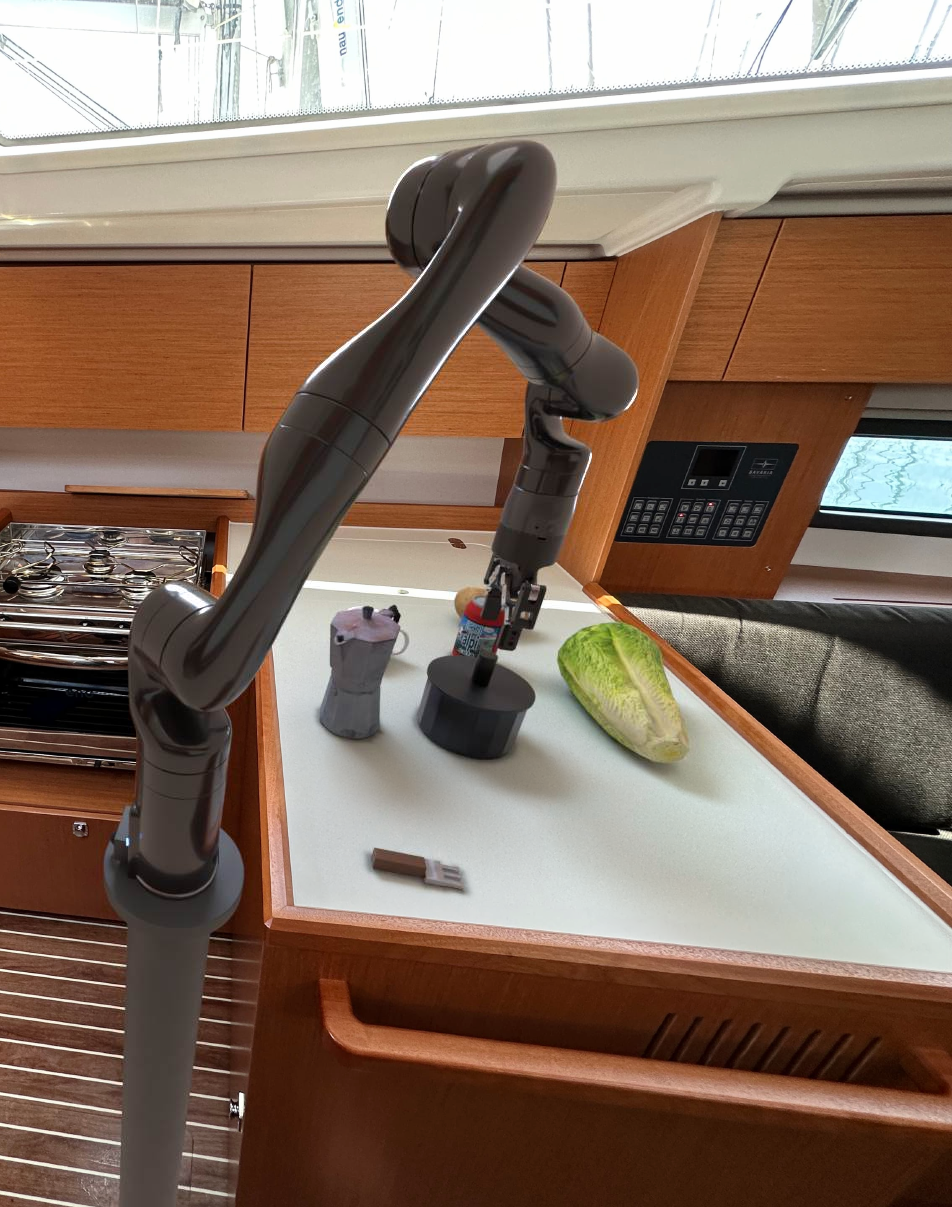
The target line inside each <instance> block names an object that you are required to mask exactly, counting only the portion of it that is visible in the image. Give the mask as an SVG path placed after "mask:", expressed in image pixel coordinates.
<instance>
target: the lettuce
mask: <svg viewBox="0 0 952 1207" xmlns="http://www.w3.org/2000/svg"><path fill="white" fill-rule="evenodd" d="M556 661H557V665H558V669H559V673H560V676H561V677H562V679H563V680H564V681H565V684H566V685H567V686H568V688H569V690H570V691H571V693H572V694H573V696H575V698H576V699H577V700H578V701H579V702H580V704H581V705H582V706H583V708H584V709H585V710H586V712H588V714H589V715H590V716H591V717H592V718H593V720H595V721H596V722H597V723H598V724H599V725H600V726H601V728H603V730H605V732H606V733H607V734H608V735H609V736H611V737H612V738H613V739H615V740H616V741H617V742H619V743H620V744H622V745H623V746H625V747H626V748H627V749H629V750H631V751H632V752H634V753H636V754H637V755H639V756H641V757H643V758H645V759H647V760H650V761H652V762H653V763H654V762H655V763H664V764H670V763H675V762H677V761H680V760H683V759H685V756H686V755H687V753H688V752H689V750H690V745H691V740H690V735H689V732H688V728H687V725H686V721H685V719H684V716H683V713H682V711H681V709H680V706H679V704H678V702H677V700H676V699H675V697H674V693H673V691H672V688H671V684H670V682H669V679H668V677H667V674H666V671H665V667H664V656H663V653H662V651H661V649H660V647H659V645H658V643H656V642H655V641H654V640H653V639H652V638H651V637H650V636H648V634H646V633H644V632H643V631H642V630H640V629H639V628H637V626H636V627H635V626H633V625H631V624H628V623H626V622H624V621H613V622H612V621H611V622H601V623H596V624H594V625H593V624H592V625H590V626H585V627H582V628H581V629H579V630H578V631H576V632H574V634H572V635H570V636H569V637H568V638H567V639H566V640H565V641H564V642H563V644H562V645H561V646H560V648H559V649H558V651H557V658H556Z"/></svg>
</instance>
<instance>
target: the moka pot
mask: <svg viewBox="0 0 952 1207" xmlns="http://www.w3.org/2000/svg"><path fill="white" fill-rule="evenodd" d="M361 607H362V609H354V610H348V609H347V610H348V611H347V610H342V611H337V612H336V614H335V615H334V617H333V619H332V620H331V621H330V624H329V635H330V636H329V667H330V668H331V669H330V676H329V679H328V683H327V684H326V685H327V686H326V688H325V692H324V694H323V698H322V701H321V704H320V708H319V721H320V722H321V724H322V725H323V726H324V727H325V729H327V730H328V731H329V732H331V733H333V734H335V735H338V736H340V737H344V738H348V739H364V738H369V737H371V736H372V735H374V734H375V733H376V732H378V730H379V729H380V724H381V722H380V721H381V719H380V718H381V685H382V682H383V678H384V675H385V672H386V670H387V667H388V664H389V662H390V659H391V656H392V655H391V653H392V651H394V647H395V646H396V643H397V640H398V637H399V634H400V632H399V631H400V628H402V627H401V626H400V624H399V623H400V619H401V617H402V615H401V613H400V610H399V609H398V606H397V605H396V604H392V605H391V606H389V607H388V608H382V609H380V610H379V612H373V611H374V609H375V608H374V607H373V606H370V605H364V606H361Z"/></svg>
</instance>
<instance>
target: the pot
mask: <svg viewBox="0 0 952 1207" xmlns="http://www.w3.org/2000/svg"><path fill="white" fill-rule="evenodd" d="M527 712H528V710H526V711H524V712H520V713H514V714H499V713H491V712H486V711H481V710H477V709H474V708H471V707H468V706H465V705H463V704H461V703H458V702H456V701H454V700H452V699H450V698H449V697H447V696H446V695H444V694H443V693H441V692H440V691H439V690H437V689H436V688H435V687H434V686H433V685H432V683H431V682H430V680H429V679H428V678H427V679H426V682H425V686H424V689H423V692H422V695H421V699H420V703H419V707H418V710H417V713H416V722H417V726H418V728H419V730H420V731H421V733H422V734H423V735H424V736H425V737H426V738H427V739H428V740H430V741H431V742H432V743H434V744H435V745H436V746H438V747H440V748H442V749H444V750H445V751H447V752H449V753H452V754H455V755H457V756H461V757H463V758H464V757H465V758H467V759H472V760H480V761H492V760H498V759H501V758H503V757H504V758H505V757H506V756H507V755H508V754H510V752H511V751H512V750H513V747H514V745H515V743H516V740H517V737H518V734H519V732H520V730H521V727H522V724H523V721H524V720H525V717H526V715H527Z"/></svg>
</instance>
